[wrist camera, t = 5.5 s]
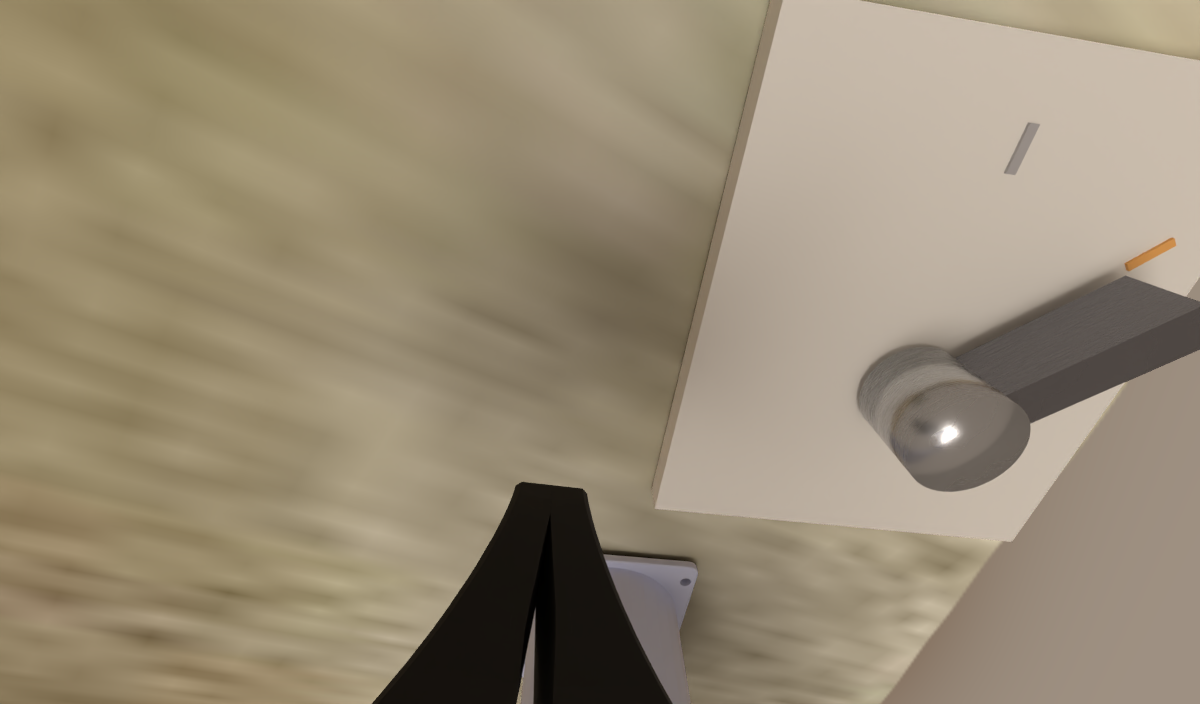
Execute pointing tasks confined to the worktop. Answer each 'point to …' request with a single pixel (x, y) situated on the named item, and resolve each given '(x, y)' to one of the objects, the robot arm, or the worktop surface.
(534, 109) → the worktop surface
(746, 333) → the dial panel
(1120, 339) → the dial lever
